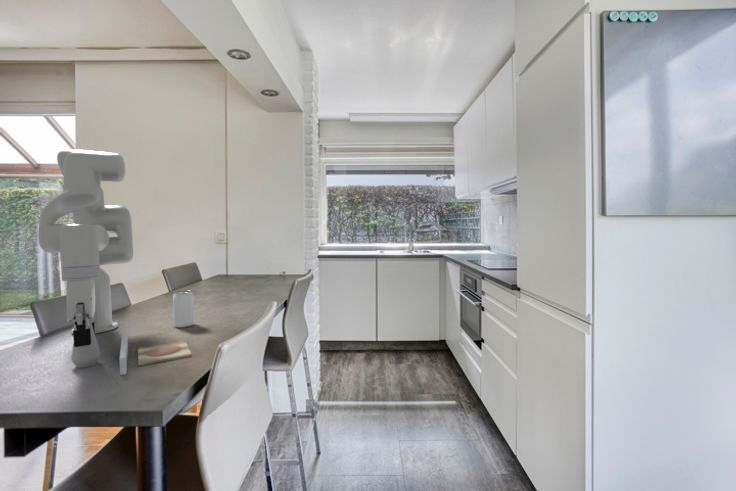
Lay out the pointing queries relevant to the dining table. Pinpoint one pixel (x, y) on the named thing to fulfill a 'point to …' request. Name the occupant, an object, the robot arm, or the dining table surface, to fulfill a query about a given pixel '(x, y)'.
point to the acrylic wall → (123, 355)
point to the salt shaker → (86, 351)
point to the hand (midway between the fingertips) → (85, 340)
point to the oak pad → (163, 352)
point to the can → (183, 309)
